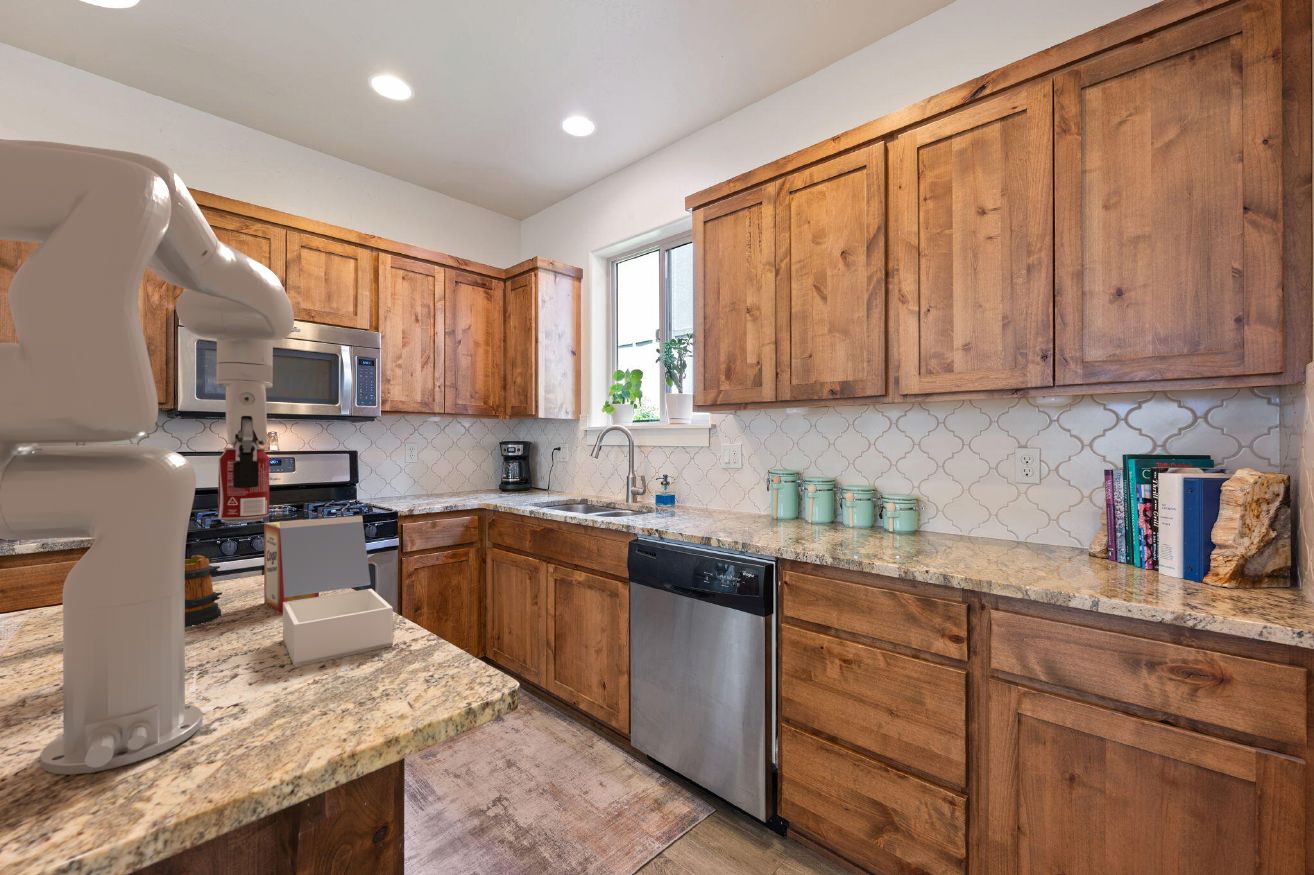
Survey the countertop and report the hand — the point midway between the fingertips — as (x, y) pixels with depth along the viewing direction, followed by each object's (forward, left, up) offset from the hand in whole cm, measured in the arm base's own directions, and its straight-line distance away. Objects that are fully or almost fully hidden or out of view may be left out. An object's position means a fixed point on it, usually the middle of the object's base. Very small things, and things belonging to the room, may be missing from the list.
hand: (244, 485), depth 94 cm
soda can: (0, 0, -6) cm, 6 cm away
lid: (-3, -11, -12) cm, 17 cm away
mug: (+16, +9, -25) cm, 31 cm away
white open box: (-13, -11, -25) cm, 30 cm away
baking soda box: (+16, -8, -25) cm, 30 cm away
